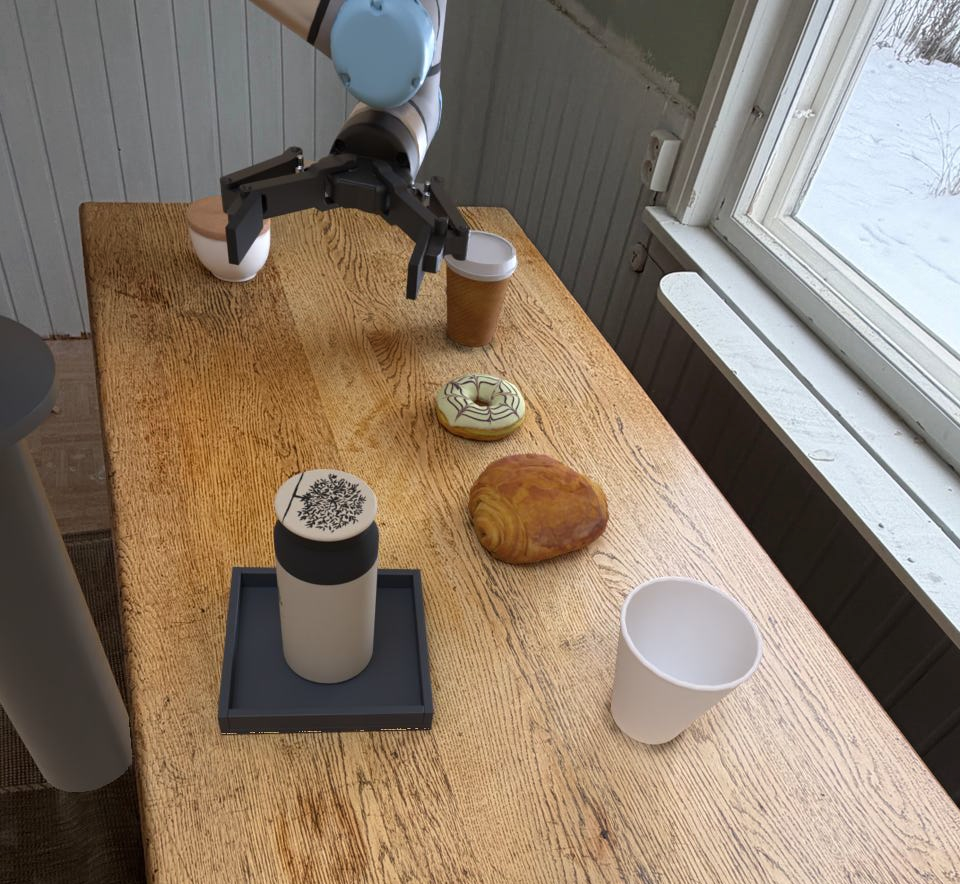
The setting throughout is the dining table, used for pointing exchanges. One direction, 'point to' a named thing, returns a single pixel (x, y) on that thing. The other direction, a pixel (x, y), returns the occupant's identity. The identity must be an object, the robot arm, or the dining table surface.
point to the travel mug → (326, 573)
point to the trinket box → (223, 241)
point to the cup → (678, 656)
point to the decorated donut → (480, 407)
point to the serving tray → (324, 706)
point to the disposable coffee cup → (478, 288)
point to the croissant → (535, 508)
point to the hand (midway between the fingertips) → (322, 265)
